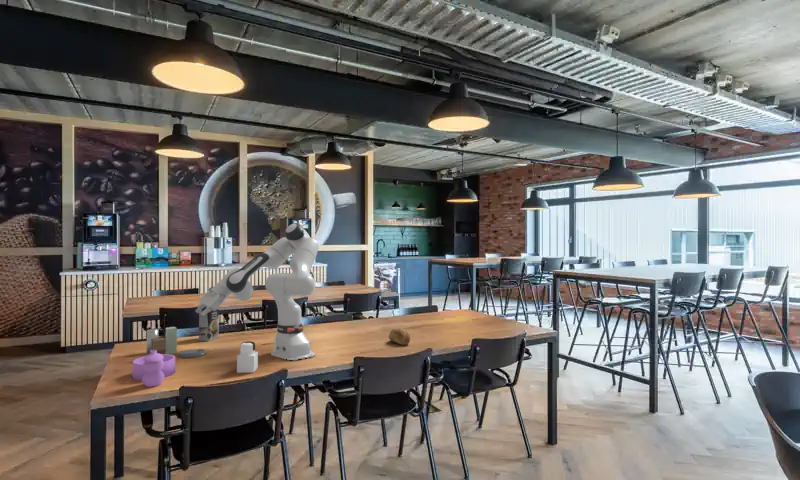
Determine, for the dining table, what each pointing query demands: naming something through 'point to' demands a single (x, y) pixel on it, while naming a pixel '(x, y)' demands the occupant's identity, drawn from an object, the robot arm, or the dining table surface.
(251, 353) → the medicine bottle
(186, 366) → the dining table surface
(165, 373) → the container set
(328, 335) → the dining table surface
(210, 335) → the coffee box
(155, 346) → the walnut block
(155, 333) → the pewter tin
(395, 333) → the bread roll
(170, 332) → the sage block
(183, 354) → the disc
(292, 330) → the robot arm
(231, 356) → the dining table surface
